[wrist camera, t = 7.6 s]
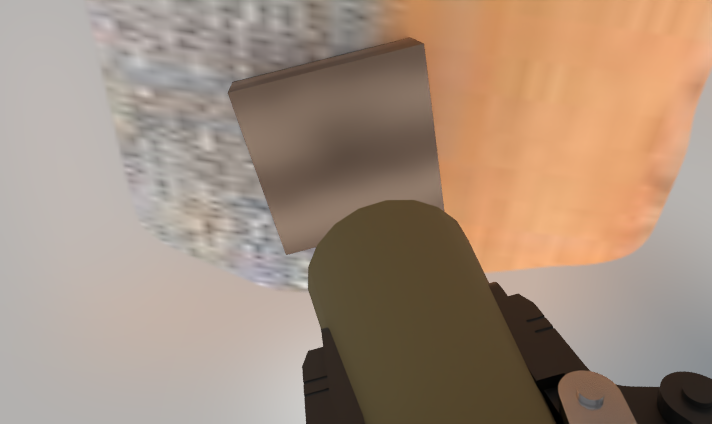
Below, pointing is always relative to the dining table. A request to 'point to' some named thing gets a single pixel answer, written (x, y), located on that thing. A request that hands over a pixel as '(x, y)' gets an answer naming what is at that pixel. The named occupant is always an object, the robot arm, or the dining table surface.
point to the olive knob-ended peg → (419, 321)
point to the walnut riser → (340, 137)
